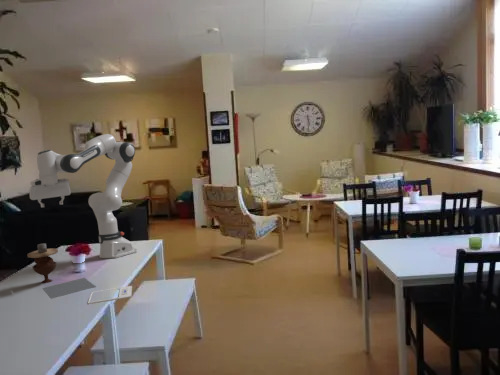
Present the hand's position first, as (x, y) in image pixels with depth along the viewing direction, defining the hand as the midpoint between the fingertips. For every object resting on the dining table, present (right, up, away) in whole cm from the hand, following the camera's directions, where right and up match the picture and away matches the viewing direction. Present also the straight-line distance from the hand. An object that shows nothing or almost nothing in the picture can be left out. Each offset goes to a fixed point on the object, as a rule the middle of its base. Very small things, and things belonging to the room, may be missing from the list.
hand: (52, 205), depth 236 cm
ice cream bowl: (+3, -39, -13) cm, 41 cm away
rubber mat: (+20, -39, -26) cm, 50 cm away
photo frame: (+45, -39, -40) cm, 71 cm away
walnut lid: (+2, -24, -15) cm, 28 cm away
